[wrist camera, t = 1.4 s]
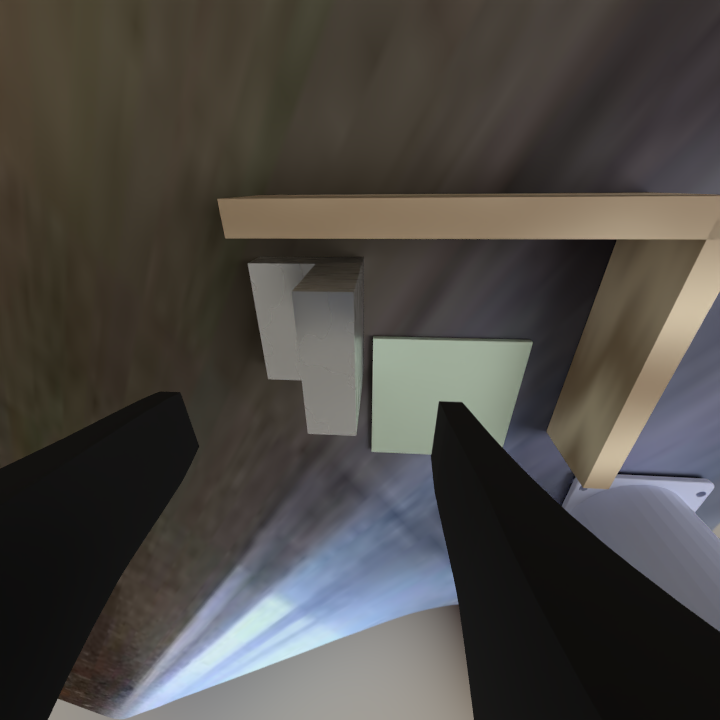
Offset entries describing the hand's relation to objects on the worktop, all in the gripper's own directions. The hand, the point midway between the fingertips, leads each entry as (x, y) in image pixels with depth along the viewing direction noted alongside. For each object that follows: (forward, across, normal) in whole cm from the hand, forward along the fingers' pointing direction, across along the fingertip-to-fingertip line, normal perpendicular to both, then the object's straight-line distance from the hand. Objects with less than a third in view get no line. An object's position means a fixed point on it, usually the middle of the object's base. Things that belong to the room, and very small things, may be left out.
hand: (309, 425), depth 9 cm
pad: (+8, -6, +5) cm, 11 cm away
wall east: (+8, -5, -5) cm, 11 cm away
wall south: (+8, -13, +1) cm, 15 cm away
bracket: (+8, +1, 0) cm, 9 cm away
